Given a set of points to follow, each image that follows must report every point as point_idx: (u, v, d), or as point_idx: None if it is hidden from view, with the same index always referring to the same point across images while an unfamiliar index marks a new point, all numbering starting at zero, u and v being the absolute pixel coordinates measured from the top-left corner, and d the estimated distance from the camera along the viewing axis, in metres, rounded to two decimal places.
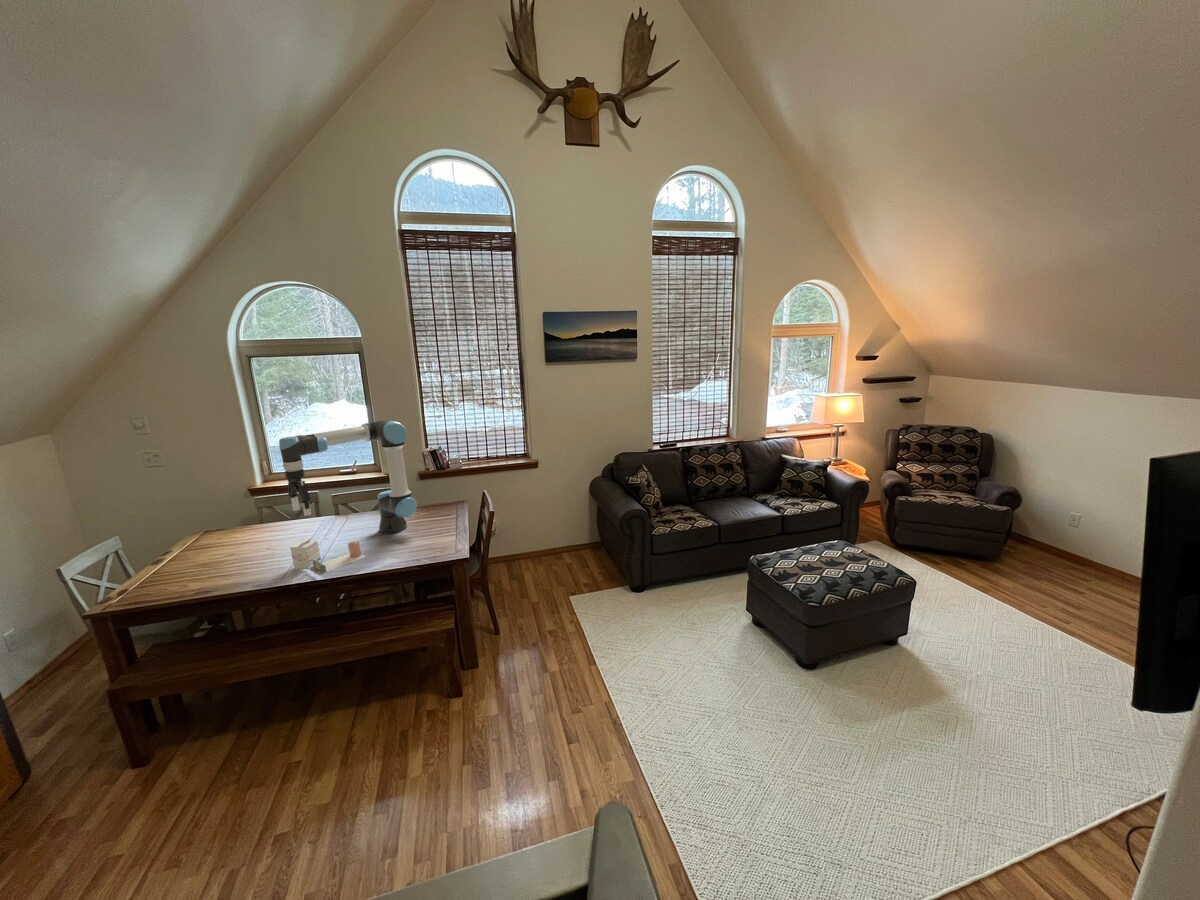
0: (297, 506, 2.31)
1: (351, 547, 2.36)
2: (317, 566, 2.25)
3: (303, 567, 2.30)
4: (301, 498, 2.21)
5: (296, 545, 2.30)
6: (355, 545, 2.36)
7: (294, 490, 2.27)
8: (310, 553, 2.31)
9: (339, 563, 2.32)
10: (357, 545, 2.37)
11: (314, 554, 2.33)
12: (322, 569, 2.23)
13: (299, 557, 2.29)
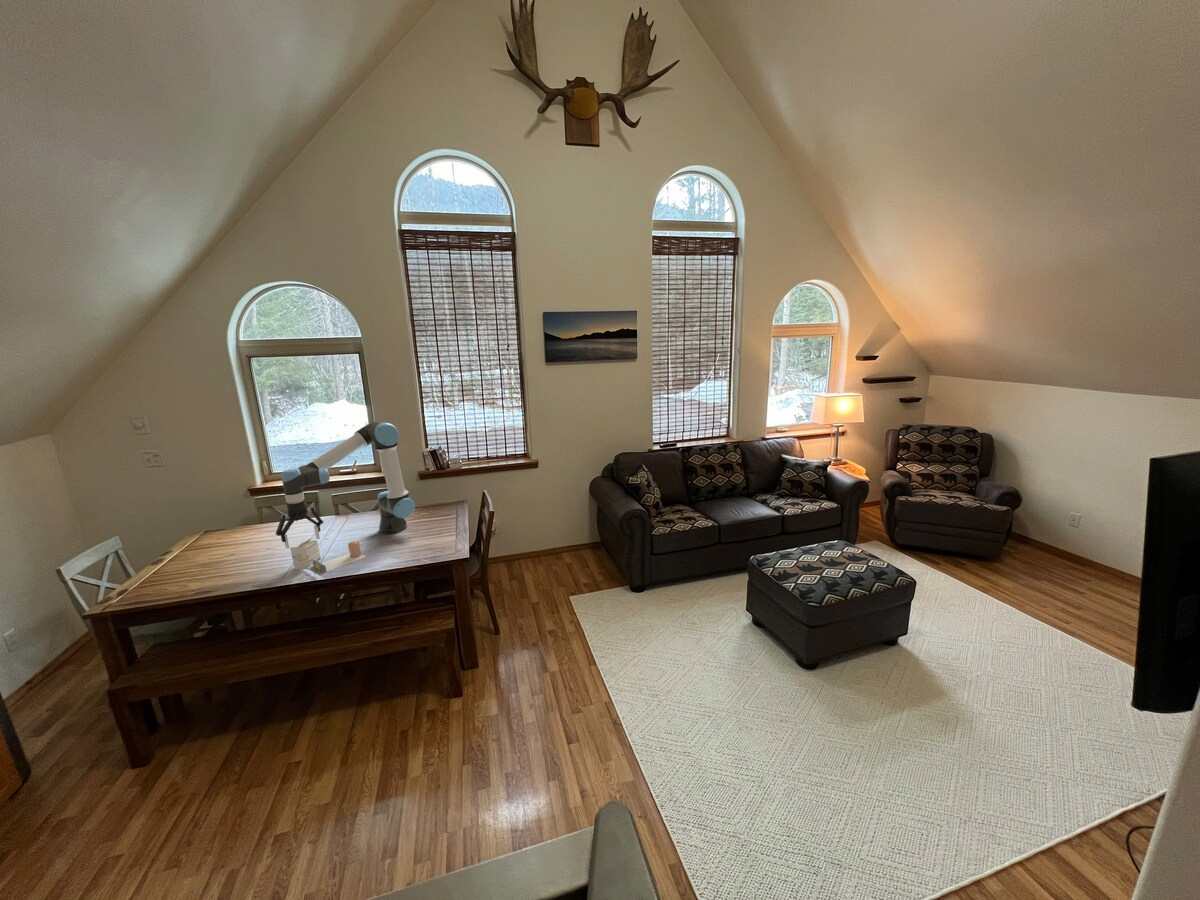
0: (316, 535, 2.36)
1: (351, 547, 2.36)
2: (317, 566, 2.25)
3: (303, 567, 2.30)
4: None
5: (296, 545, 2.30)
6: (355, 545, 2.36)
7: None
8: (310, 553, 2.31)
9: (339, 563, 2.32)
10: (357, 545, 2.37)
11: (314, 554, 2.33)
12: (322, 569, 2.23)
13: (299, 557, 2.29)
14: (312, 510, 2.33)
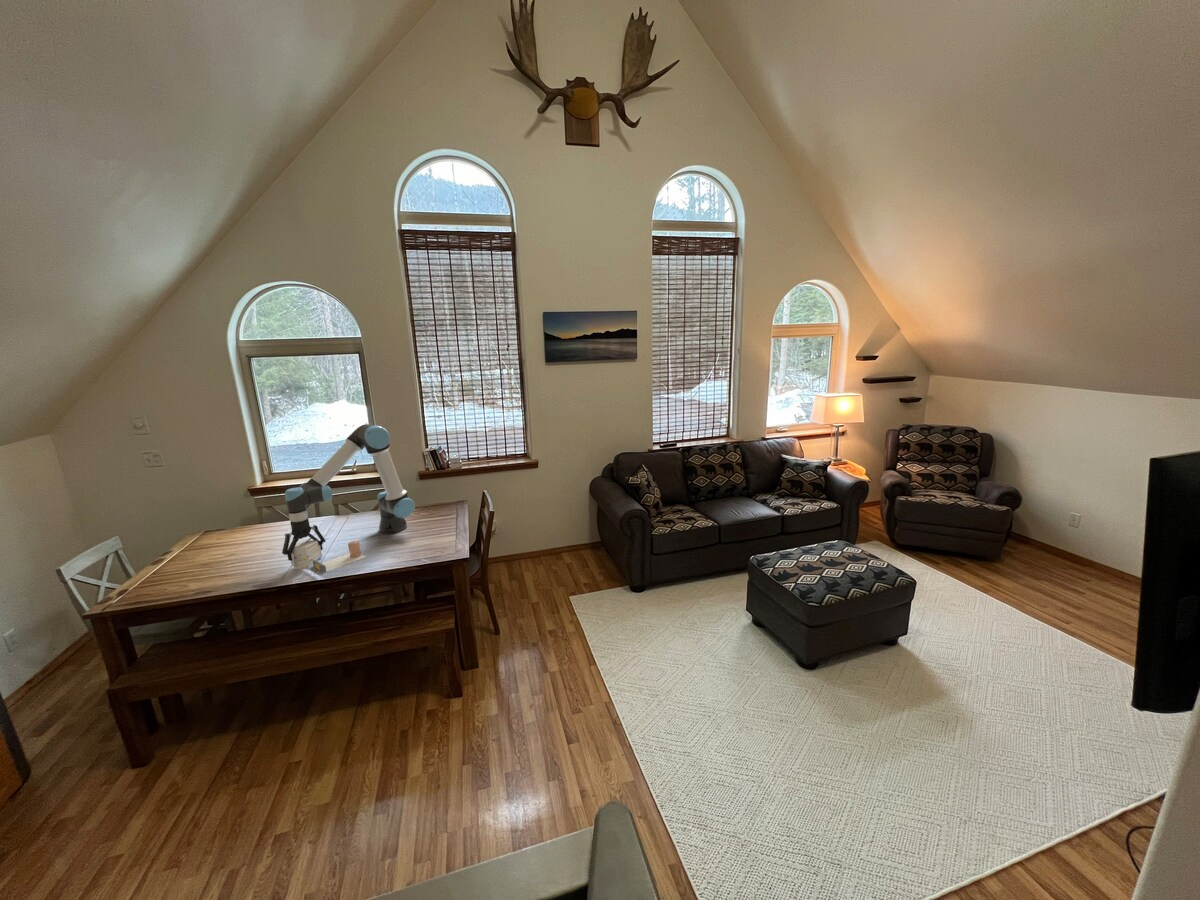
0: None
1: (351, 547, 2.36)
2: (317, 566, 2.25)
3: (303, 567, 2.30)
4: None
5: (296, 545, 2.30)
6: (355, 545, 2.36)
7: (311, 538, 2.35)
8: (310, 553, 2.31)
9: (339, 563, 2.32)
10: (357, 545, 2.37)
11: (314, 554, 2.33)
12: (322, 569, 2.23)
13: (299, 557, 2.29)
14: (316, 528, 2.35)
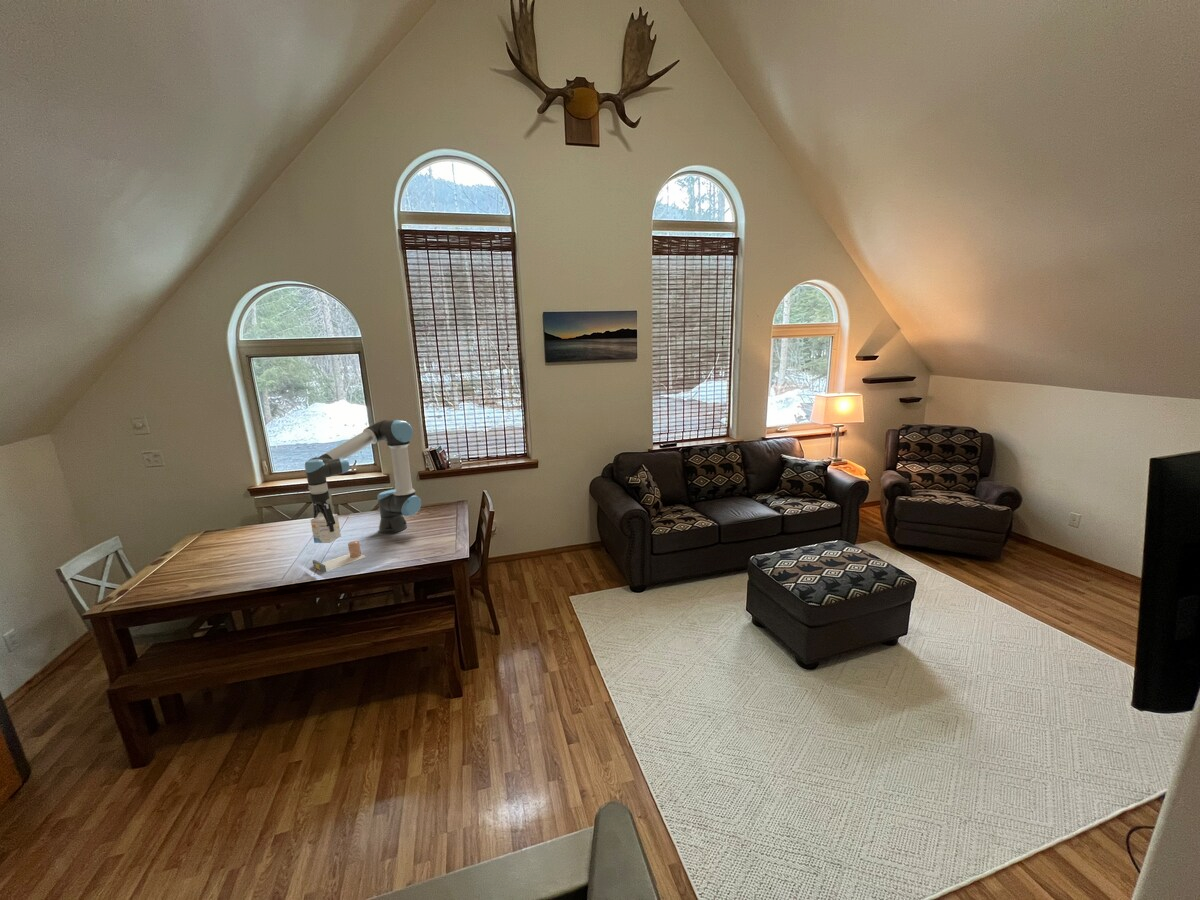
0: None
1: (351, 547, 2.36)
2: (317, 566, 2.25)
3: (336, 536, 2.30)
4: (326, 521, 2.23)
5: (324, 518, 2.25)
6: (355, 545, 2.36)
7: (319, 512, 2.29)
8: None
9: (339, 563, 2.32)
10: (357, 545, 2.37)
11: None
12: (322, 569, 2.23)
13: None
14: None
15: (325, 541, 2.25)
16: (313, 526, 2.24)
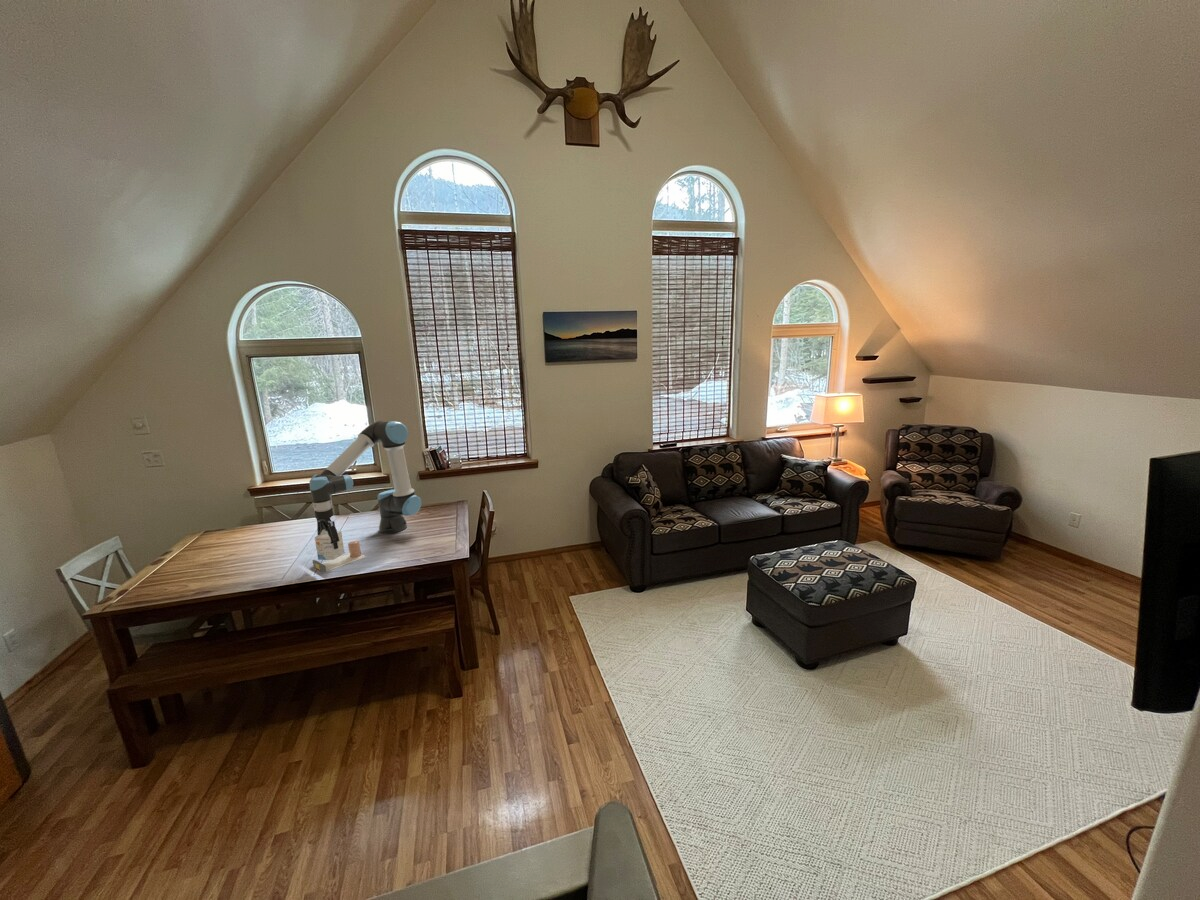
0: None
1: (351, 547, 2.36)
2: (317, 566, 2.25)
3: (340, 553, 2.31)
4: (330, 538, 2.25)
5: (328, 535, 2.26)
6: (355, 545, 2.36)
7: None
8: None
9: (339, 563, 2.32)
10: (357, 545, 2.37)
11: None
12: (322, 569, 2.23)
13: None
14: None
15: (329, 558, 2.27)
16: (317, 543, 2.26)
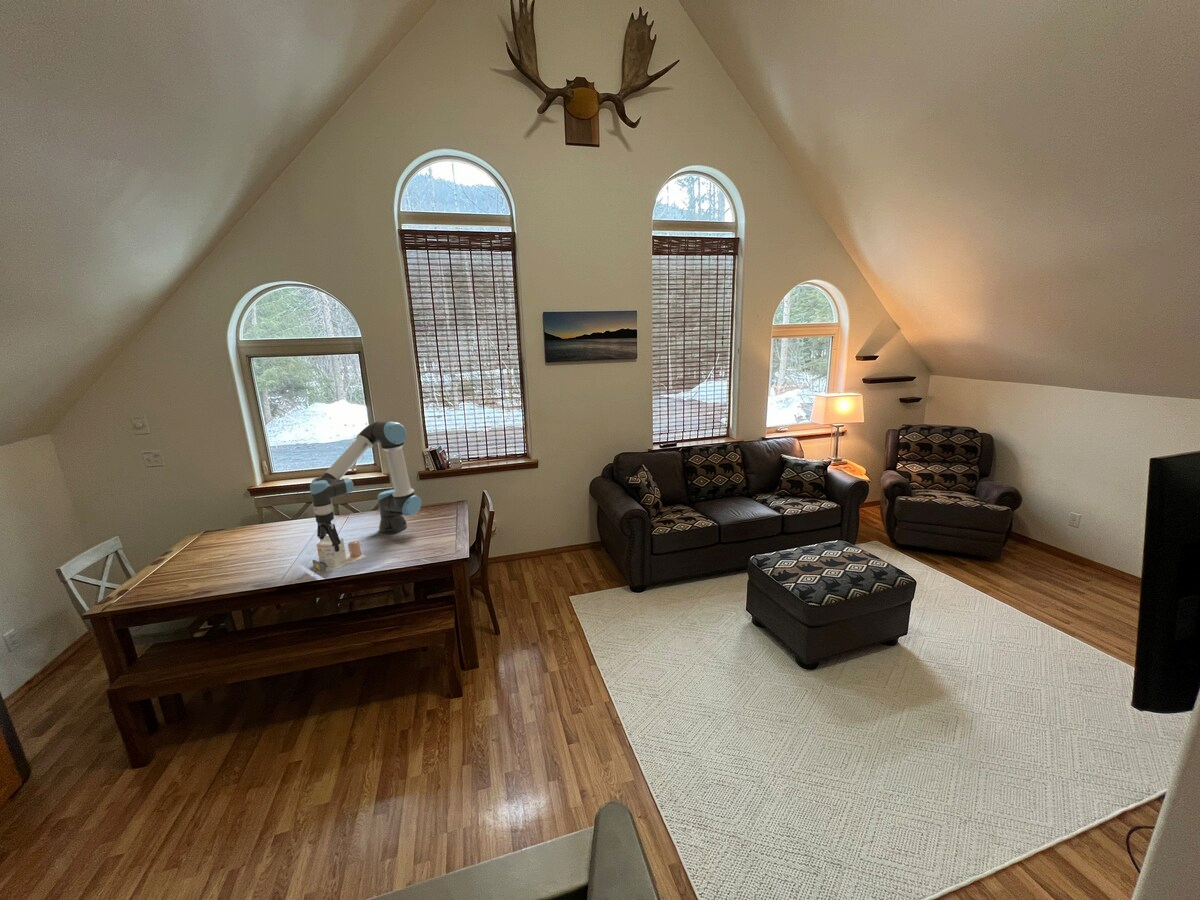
0: None
1: (351, 547, 2.36)
2: (317, 566, 2.25)
3: (342, 560, 2.32)
4: (331, 541, 2.25)
5: (330, 543, 2.27)
6: (355, 545, 2.36)
7: (323, 532, 2.31)
8: None
9: None
10: (357, 545, 2.37)
11: None
12: (322, 569, 2.23)
13: None
14: None
15: (330, 565, 2.28)
16: (319, 550, 2.27)
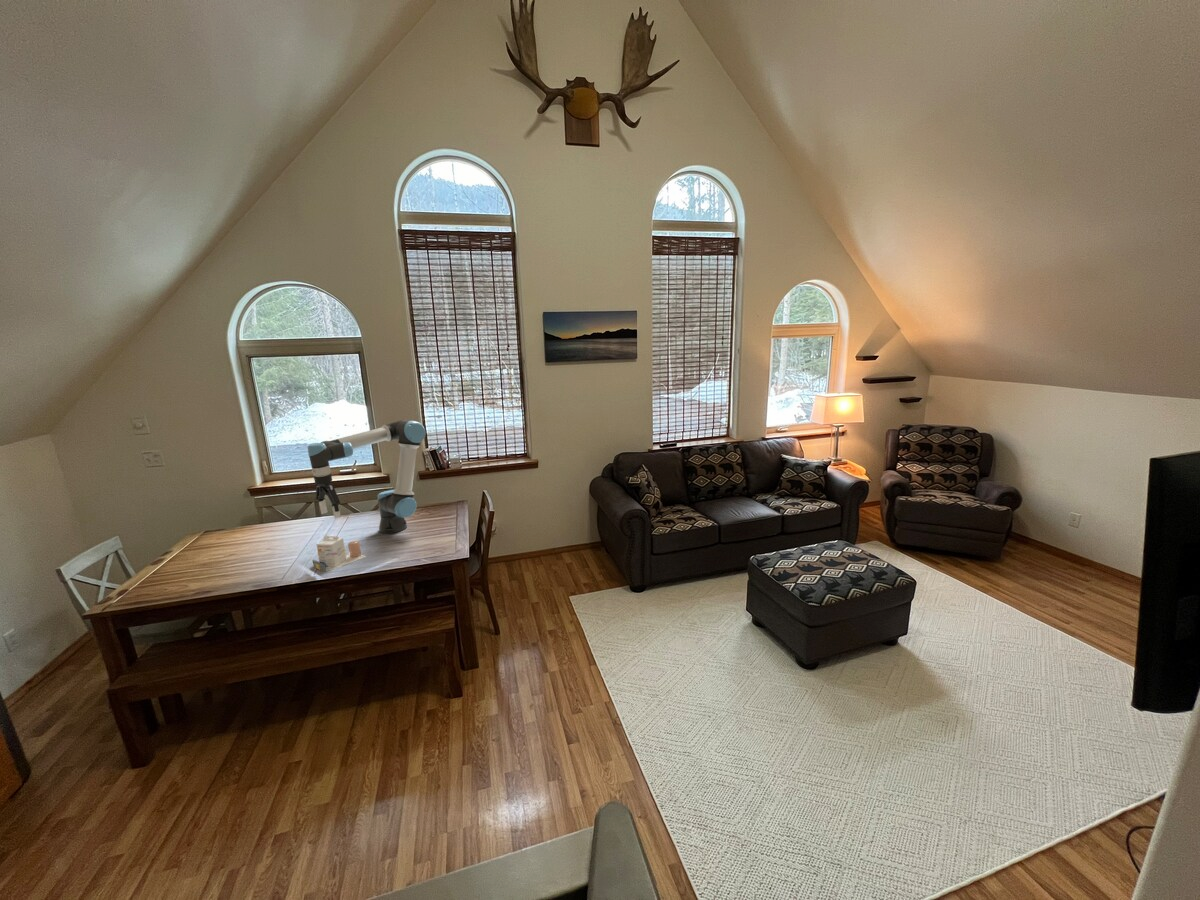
0: (325, 509, 2.42)
1: (351, 547, 2.36)
2: (317, 566, 2.25)
3: (342, 560, 2.32)
4: (331, 501, 2.31)
5: (330, 543, 2.27)
6: (355, 545, 2.36)
7: (322, 494, 2.38)
8: None
9: None
10: (357, 545, 2.37)
11: None
12: (322, 569, 2.23)
13: (339, 551, 2.30)
14: None
15: (330, 565, 2.28)
16: (319, 550, 2.27)
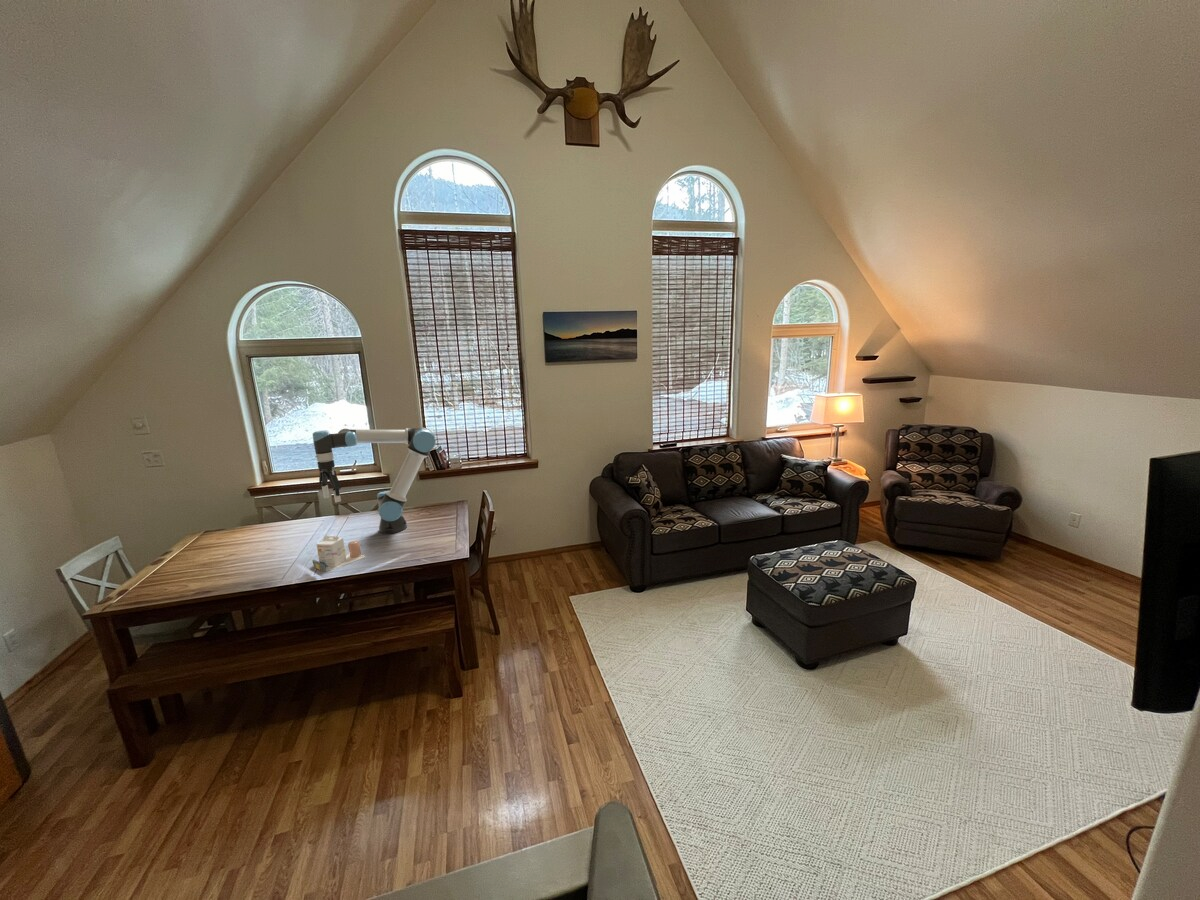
0: (327, 494, 2.54)
1: (351, 547, 2.36)
2: (317, 566, 2.25)
3: (342, 560, 2.32)
4: (332, 486, 2.44)
5: (330, 543, 2.27)
6: (355, 545, 2.36)
7: (325, 479, 2.50)
8: None
9: None
10: (357, 545, 2.37)
11: None
12: (322, 569, 2.23)
13: (339, 551, 2.30)
14: None
15: (330, 565, 2.28)
16: (319, 550, 2.27)
